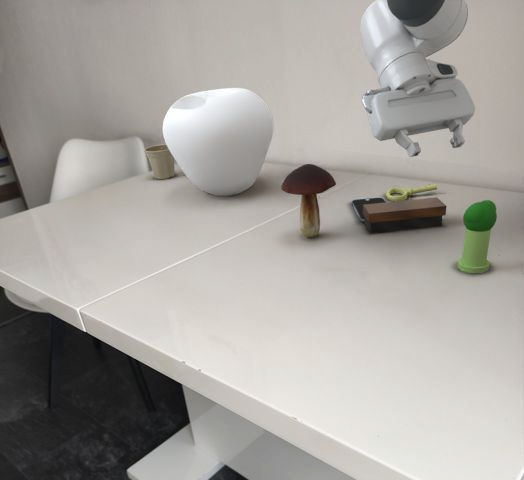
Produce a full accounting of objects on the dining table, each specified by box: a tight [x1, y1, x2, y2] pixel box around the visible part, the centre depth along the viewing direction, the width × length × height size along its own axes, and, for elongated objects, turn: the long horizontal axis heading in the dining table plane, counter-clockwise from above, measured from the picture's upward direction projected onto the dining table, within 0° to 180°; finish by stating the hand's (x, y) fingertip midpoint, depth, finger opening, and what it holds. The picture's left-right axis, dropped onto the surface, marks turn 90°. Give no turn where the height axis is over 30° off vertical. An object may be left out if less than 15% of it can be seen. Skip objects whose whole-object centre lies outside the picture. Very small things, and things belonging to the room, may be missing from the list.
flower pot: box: [143, 143, 176, 180], centre depth 164 cm, size 9×9×9 cm
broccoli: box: [457, 199, 498, 274], centre depth 92 cm, size 6×5×12 cm
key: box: [385, 183, 438, 202], centre depth 131 cm, size 7×12×2 cm, turn 110°
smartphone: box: [351, 197, 386, 224], centre depth 124 cm, size 8×1×15 cm
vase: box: [162, 87, 274, 197], centre depth 141 cm, size 28×27×25 cm
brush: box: [363, 196, 448, 234], centre depth 114 cm, size 16×6×4 cm, turn 93°
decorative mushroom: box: [280, 163, 337, 239], centre depth 110 cm, size 11×11×15 cm
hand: (437, 150), depth 95 cm, fingers open, 8 cm apart
